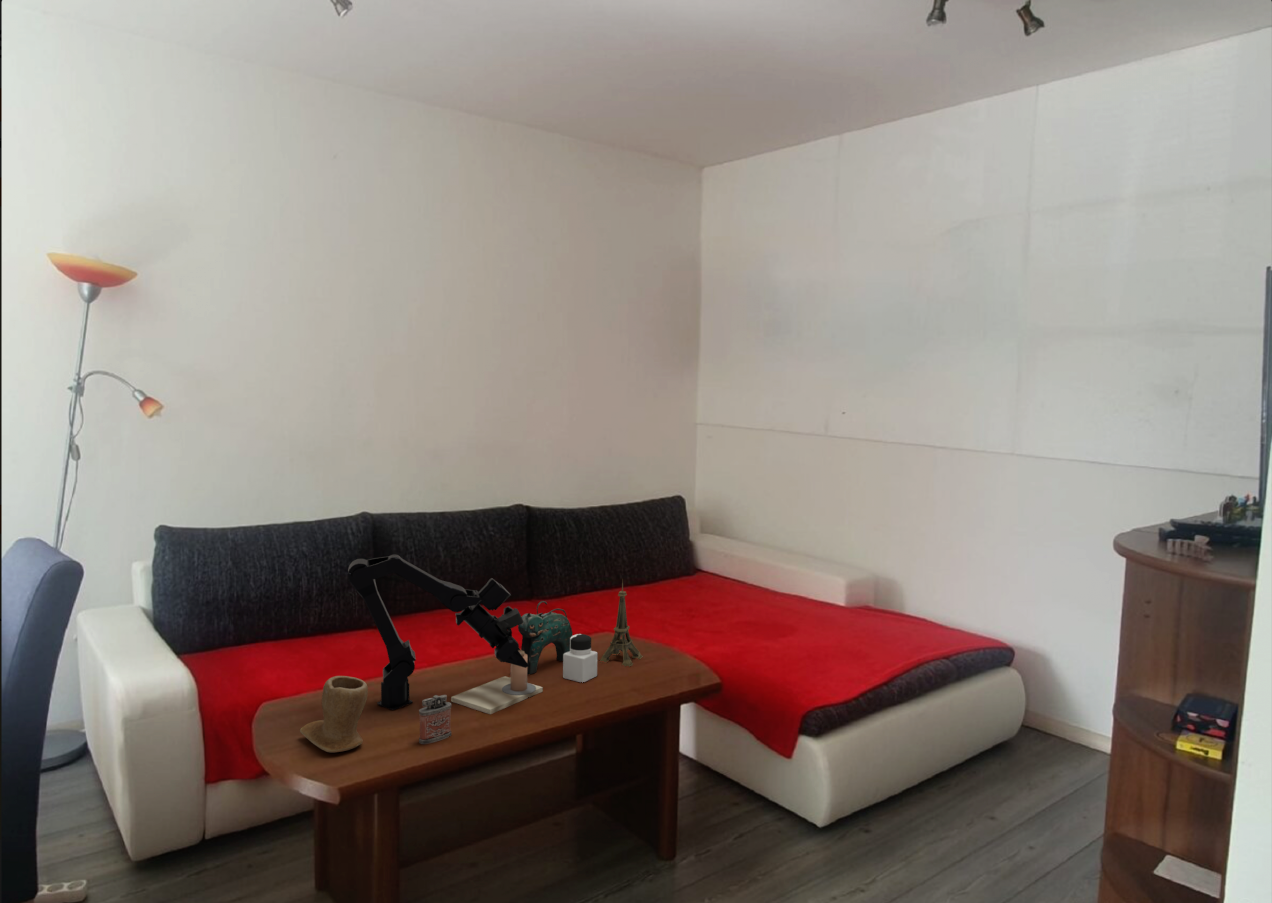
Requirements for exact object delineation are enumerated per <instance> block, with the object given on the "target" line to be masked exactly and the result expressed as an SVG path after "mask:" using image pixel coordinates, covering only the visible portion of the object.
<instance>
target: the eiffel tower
mask: <svg viewBox="0 0 1272 903" xmlns="http://www.w3.org/2000/svg"><path fill="white" fill-rule="evenodd" d="M627 595H628V594H627V591H624V579H622V583H621V590H620V591H619V592H618V594H617V597H619V600H618V609H617V617H616V625H615V627H614V628H613V631H614V635H613V638H612V641H609V643H610V645H609V646H608V647H607V649H606V650H605V652H604V653H603V655H602V656H601V658H600V659H599V660H600V661H604V662H607V661H609V660H610V661H611V658H610V657H611V656H612V655H611V654H616V655H617V654H619V653H620V652H622V664H621V666H622V665H624V666H623V667H626V666H629V667H628V668H630V666H631V667H632V666H634V665H633V664H634V663H633V662H632V659H634V658H638V659H637V660H642V659H643V658H644V657H643V656H644V655H642V654H641V652H640V650H639V649H638V648H637V647H636V646H635V644H634V643H633V640H634V639H631V636H630V631H629V630H630V625H628V619H627V618H628V617H627V607H626V596H627ZM628 650H629V652H630V653H631V655H632V656H631V657H630V655H629V653H628ZM620 654H621V653H620ZM620 654H619V655H620ZM616 655H615V656H616ZM617 656H618V655H617ZM642 657H643V658H642ZM641 658H642V659H641ZM610 661H609V662H610ZM607 663H608V662H607Z"/></svg>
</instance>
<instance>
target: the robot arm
mask: <svg viewBox="0 0 1272 903" xmlns="http://www.w3.org/2000/svg"><path fill="white" fill-rule="evenodd" d="M390 574H395V575H397V576H398V577H401V578H402V579H403V580H406V581H408V582H409V583H411V584H413V585H415V586H417V587H419V588H420V589H422V590H423V591H424V590H425V592H428V593H429V594H431V595H432V596H434V597H435V598H436V599H437V600H438V601H439V602H440V603H441V604H442V605H444V606H445V607H446V608H447V609H448V610H449V611H451V612H453V613H455V614H454V615H455V624H456V626H460V625H461V624H463V622H465V623H466V624H467V625H468V626H469V627H470V628H471V629H472V630H473V631H475V633H477V634H478V636H479V637H480V638H481V639H483V640H484V641H486V642H487V644H489V647H490V648H491V649H494V656H495V658H496V659H497V660H498V661H499V662H500V663H506V664H510V665H511V664H514V665H517V666H521V667H524V668H526V667H527V666H528V663H527V662H526V661H525V659H524V658H523V656H522V655H521V654H520V652H519V651H518V650H521V648H520V644H519V643H518V641H517V640H516V639H515V638H514V637H513V630H512V629H513V628H515V627H518V625H521V624H522V623H523V622H524V621H523V619H522V616H521V613H520V611H519V610H518V608H516V607H514V608H512V606H510V605H508V606H506V607H504V608H503V614H501V616H499V617H498V616H496V615H493V614H491V613H489V611H497V610H498V609H499V607H501V605H503V603H505V601H507V600H508V599H509V597H510V596H512V595H511V593H510V592H509V591H508V590H507V589H506V588H505V586H503V585H502V584H501V583H499V582H498V581H496V579H494V577H493V578H492V577H491V578H490V579H489V580H488V581H487V583H485V585H484V586H483V587H481V589H480V590H479V591H478V590H477V589H476V590H474V589H467V588H466V589H465V588H464V587H463V586H462V585H458V584H456V583H452V582H450V581H444V580H441V579H439V578H438V577H435V576H434V575H432V574H430V573H429V572H426V571H425V570H423V569H421V568H419V567H418V566H416V565H414V564H412V563H411V562H409V561H407V560H405V559H403V558H402V557H401V556H400V555H399V554H390V555H389V556H382V557H381V556H380V557H374V558H370V559H369V558H368V559H365V558H357V559H354V560H353V561H352V562H351V563H350V564H349V566H348V570H347V580H348V582H349V583H350V584H351V586H352V588H354V590H355V592H357V594H359V596H360V597H361V598H362V599H363V600H364V603H365V605H366V607H367V609H368V611H369V614H370V617H372V620H373V621H374V624H375V626H376V628H377V630H378V632H379V634H380V637H381V639H382V640H383V644H384V646H385V648H386V653H387V656H388V661H389V662H388V663H387V664H386V665H385V666H384V667H383V668H382V681H381V683H380V701H377V702H376V705H377V706H380V707H381V708H382V707H383V708H385V709H388V710H391V711H395V710H398V709H400V708H403V707H405V706H408V705H412V704H413V700H411V699H410V683H409V678H408V677H410V676H411V675H412V674H413V673H414V671H415V668H416V665H415V661H417V658H416V652H415V650H413V648H412V646H411V643H410V639H408V640H406V641H404V640H402V639H401V637H400V636H399V633H398V631H397V629H396V627H395V625H394V622H393V620H392V619H391V616H390V614H389V612H388V610H387V608H386V605H385V603H384V601H383V600H382V597H381V595H380V592H379V591H378V587H377V583H376V582H377V581H376V579H377V580H378V579H380V578H384V577H385V576H388V575H390ZM481 604H482V605H481ZM484 607H485V608H484ZM486 609H487V610H486Z"/></svg>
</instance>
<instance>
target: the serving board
mask: <svg viewBox="0 0 1272 903" xmlns="http://www.w3.org/2000/svg"><path fill="white" fill-rule="evenodd" d="M543 688H544V687H543V686H540V685H536V684H533V683H529V682H527V689H526V690H524V691H512V690H511V677H510V676H509V677H508V676H505V675H504V676H501V677H499V678H496V679H494V680H491V681H489V682H487V683H486V682H485V683H483V684H481V685H478V686H476V687H473V688H470V689H468V690H466V691H463V692H460V693H458V694H455V695H453V696H451V697H450V701H451V702H450V703H455V704H457V705H460V706H464V707H467V708H469V709H472V710H475V711H476V710H477V711H479V712H483V713H485V714H488V715H492V714H494V713H497V712H498V711H499V712H500V711H501V710H504V709H505V708H508V707H510V706H513V705H514V704H517V703H520V702H522V701H524V700H526V699H528V697H529V698H531V697H533V696H535V695H538V694H540V693H543Z"/></svg>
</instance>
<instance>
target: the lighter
mask: <svg viewBox="0 0 1272 903" xmlns="http://www.w3.org/2000/svg"><path fill="white" fill-rule="evenodd" d="M447 698H448V696H447V694H442V695H437V694H435V695H433V696H432V697H430V698H425V699H422V702H421V706H422V708H420V709H418V715H419V737H418V743H419V744H421V745H428V744H432V743H436V742H439V741H442V740H445V739H447V738H450V737H451V736H452V730H451V729H452V728H451V725H452V724H451V719H452V717H451V714H452V713H451V712H452V711H451V710H452V702H449V701H447ZM449 736H450V737H449Z"/></svg>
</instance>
